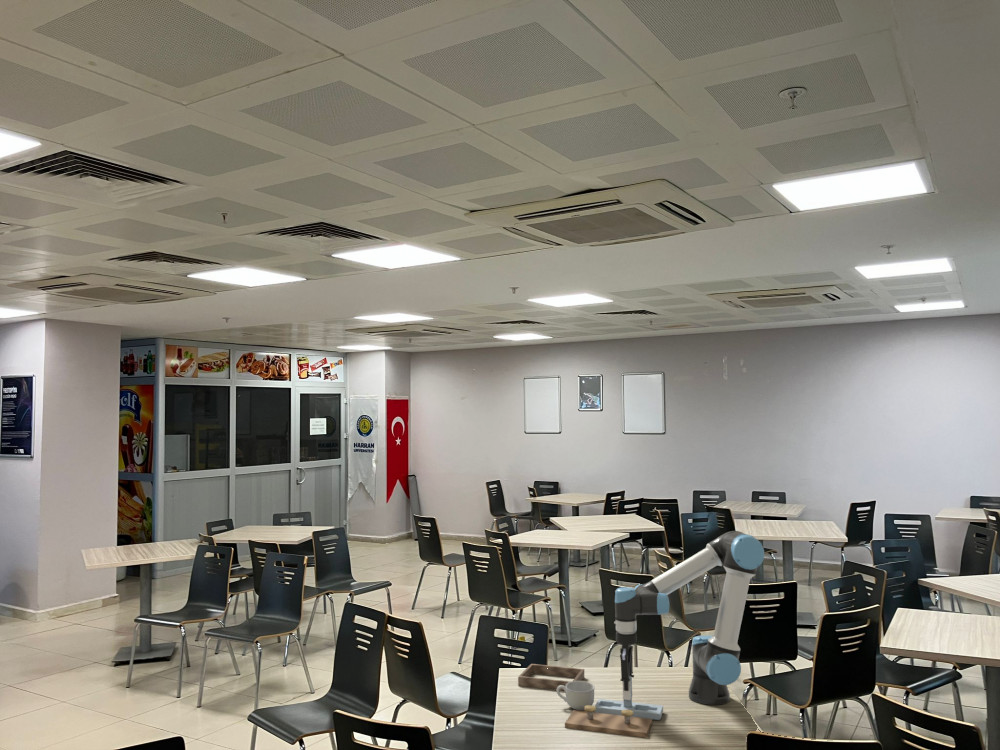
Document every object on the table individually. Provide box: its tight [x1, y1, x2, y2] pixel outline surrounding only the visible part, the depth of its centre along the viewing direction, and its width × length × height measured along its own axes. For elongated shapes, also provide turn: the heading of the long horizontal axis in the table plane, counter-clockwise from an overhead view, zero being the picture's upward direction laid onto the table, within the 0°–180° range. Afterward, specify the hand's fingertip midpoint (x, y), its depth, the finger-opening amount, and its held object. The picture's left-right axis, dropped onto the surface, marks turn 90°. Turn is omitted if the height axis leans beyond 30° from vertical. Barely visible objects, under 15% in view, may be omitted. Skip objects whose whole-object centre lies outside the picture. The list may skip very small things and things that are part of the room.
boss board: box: [564, 704, 653, 738], centre depth 268 cm, size 28×13×5 cm, turn 71°
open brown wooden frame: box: [517, 663, 585, 692], centre depth 314 cm, size 23×18×4 cm
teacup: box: [556, 680, 595, 711], centre depth 286 cm, size 14×11×8 cm
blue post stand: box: [594, 676, 664, 721], centre depth 280 cm, size 24×9×12 cm, turn 71°
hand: (627, 697), depth 280 cm, fingers closed on blue post stand, 3 cm apart
